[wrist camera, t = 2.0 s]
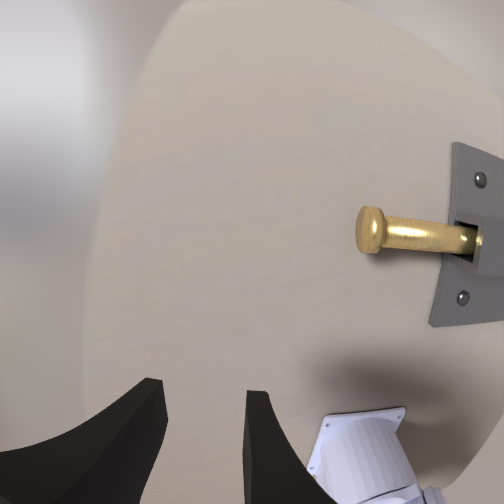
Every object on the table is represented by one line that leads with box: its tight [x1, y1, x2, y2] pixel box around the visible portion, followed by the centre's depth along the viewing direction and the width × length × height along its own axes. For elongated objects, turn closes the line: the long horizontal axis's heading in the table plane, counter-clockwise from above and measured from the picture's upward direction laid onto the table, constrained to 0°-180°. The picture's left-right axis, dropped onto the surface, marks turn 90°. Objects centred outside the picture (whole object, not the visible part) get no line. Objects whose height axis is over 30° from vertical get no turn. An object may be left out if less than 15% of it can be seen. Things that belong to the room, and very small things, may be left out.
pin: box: [356, 206, 478, 255], centre depth 15 cm, size 3×14×3 cm, turn 87°
